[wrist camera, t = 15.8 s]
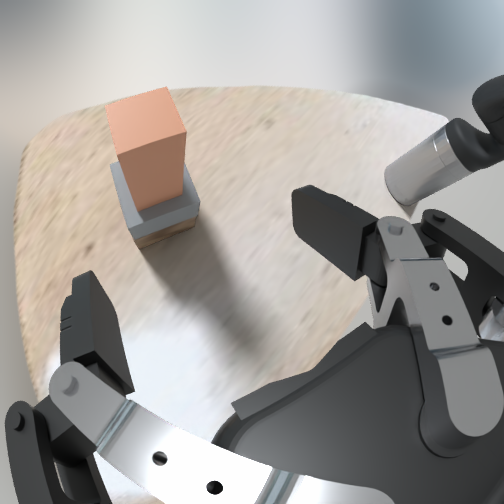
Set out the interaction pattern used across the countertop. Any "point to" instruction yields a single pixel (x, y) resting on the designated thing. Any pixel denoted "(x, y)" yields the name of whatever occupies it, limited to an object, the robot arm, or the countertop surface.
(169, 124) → the pillar
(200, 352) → the countertop surface
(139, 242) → the tower bottom slab
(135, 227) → the tower top slab
